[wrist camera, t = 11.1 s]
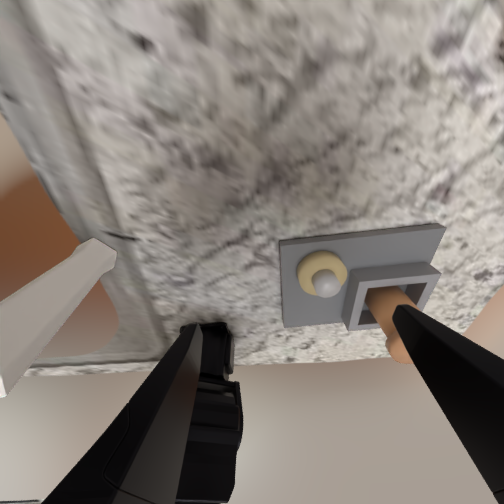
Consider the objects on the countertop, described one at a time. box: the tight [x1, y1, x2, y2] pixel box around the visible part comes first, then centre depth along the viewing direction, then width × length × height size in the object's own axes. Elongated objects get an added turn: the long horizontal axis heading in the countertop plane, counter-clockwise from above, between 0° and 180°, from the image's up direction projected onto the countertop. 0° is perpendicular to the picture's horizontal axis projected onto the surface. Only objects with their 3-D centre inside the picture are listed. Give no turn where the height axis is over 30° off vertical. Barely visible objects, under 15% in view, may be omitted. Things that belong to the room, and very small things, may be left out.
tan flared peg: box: [364, 285, 422, 364], centre depth 21 cm, size 5×5×7 cm
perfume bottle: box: [0, 238, 117, 398], centre depth 15 cm, size 5×4×15 cm
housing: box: [279, 223, 446, 331], centre depth 22 cm, size 16×13×4 cm
